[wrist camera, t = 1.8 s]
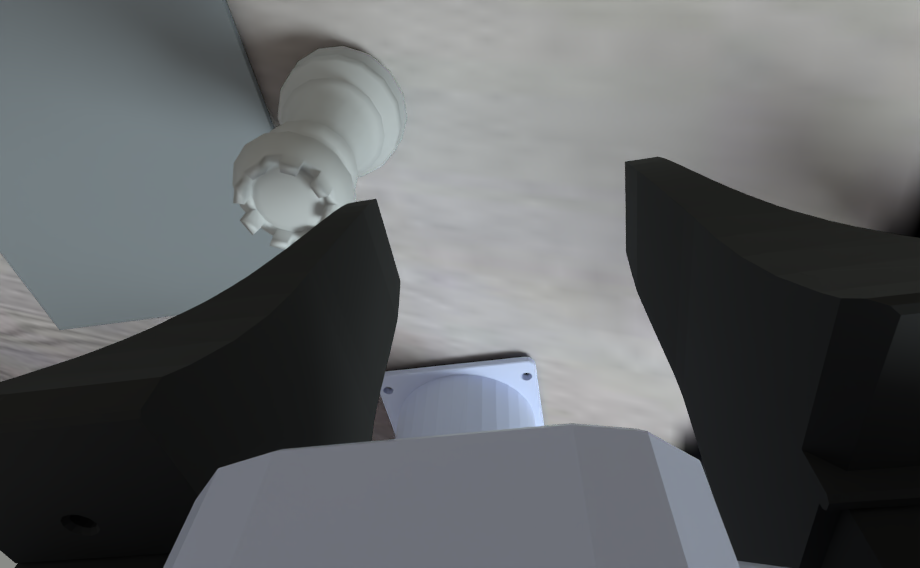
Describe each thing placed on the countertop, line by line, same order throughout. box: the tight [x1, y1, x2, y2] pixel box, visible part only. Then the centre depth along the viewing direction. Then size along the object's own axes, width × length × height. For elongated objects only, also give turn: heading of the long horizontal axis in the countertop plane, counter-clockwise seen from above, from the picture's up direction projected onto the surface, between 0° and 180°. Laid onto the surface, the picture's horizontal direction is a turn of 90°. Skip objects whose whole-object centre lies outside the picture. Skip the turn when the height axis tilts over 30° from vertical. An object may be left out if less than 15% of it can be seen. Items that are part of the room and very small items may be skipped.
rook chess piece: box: [232, 46, 407, 250], centre depth 17 cm, size 4×4×8 cm
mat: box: [0, 0, 294, 330], centre depth 22 cm, size 16×14×1 cm
